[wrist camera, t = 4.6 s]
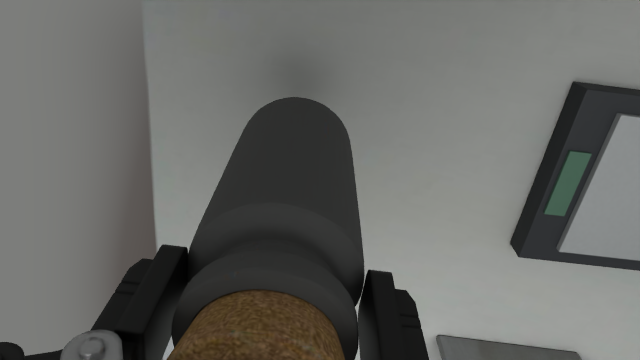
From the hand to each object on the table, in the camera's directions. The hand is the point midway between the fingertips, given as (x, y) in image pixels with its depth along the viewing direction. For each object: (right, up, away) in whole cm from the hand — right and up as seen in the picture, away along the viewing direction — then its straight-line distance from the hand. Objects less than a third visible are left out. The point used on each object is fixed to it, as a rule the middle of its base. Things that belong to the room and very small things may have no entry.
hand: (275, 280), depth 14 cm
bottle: (0, +5, +10) cm, 11 cm away
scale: (+29, +3, +25) cm, 38 cm away
